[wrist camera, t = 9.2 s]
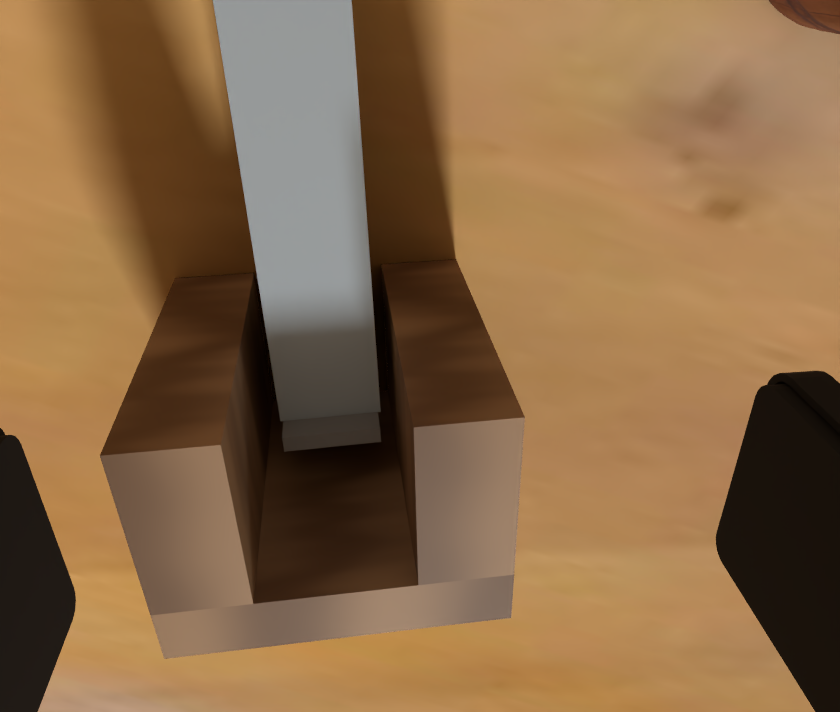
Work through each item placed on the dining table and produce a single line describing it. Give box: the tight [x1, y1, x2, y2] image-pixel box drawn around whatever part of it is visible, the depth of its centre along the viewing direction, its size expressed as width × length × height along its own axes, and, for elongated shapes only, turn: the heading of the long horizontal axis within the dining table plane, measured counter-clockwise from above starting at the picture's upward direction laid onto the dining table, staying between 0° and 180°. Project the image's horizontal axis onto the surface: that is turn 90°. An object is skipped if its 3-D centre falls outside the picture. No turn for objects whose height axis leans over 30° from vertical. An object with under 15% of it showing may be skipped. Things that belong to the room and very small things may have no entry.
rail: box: [213, 0, 381, 452], centre depth 24 cm, size 4×15×6 cm, turn 2°
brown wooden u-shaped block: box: [100, 259, 525, 659], centre depth 25 cm, size 11×8×11 cm
